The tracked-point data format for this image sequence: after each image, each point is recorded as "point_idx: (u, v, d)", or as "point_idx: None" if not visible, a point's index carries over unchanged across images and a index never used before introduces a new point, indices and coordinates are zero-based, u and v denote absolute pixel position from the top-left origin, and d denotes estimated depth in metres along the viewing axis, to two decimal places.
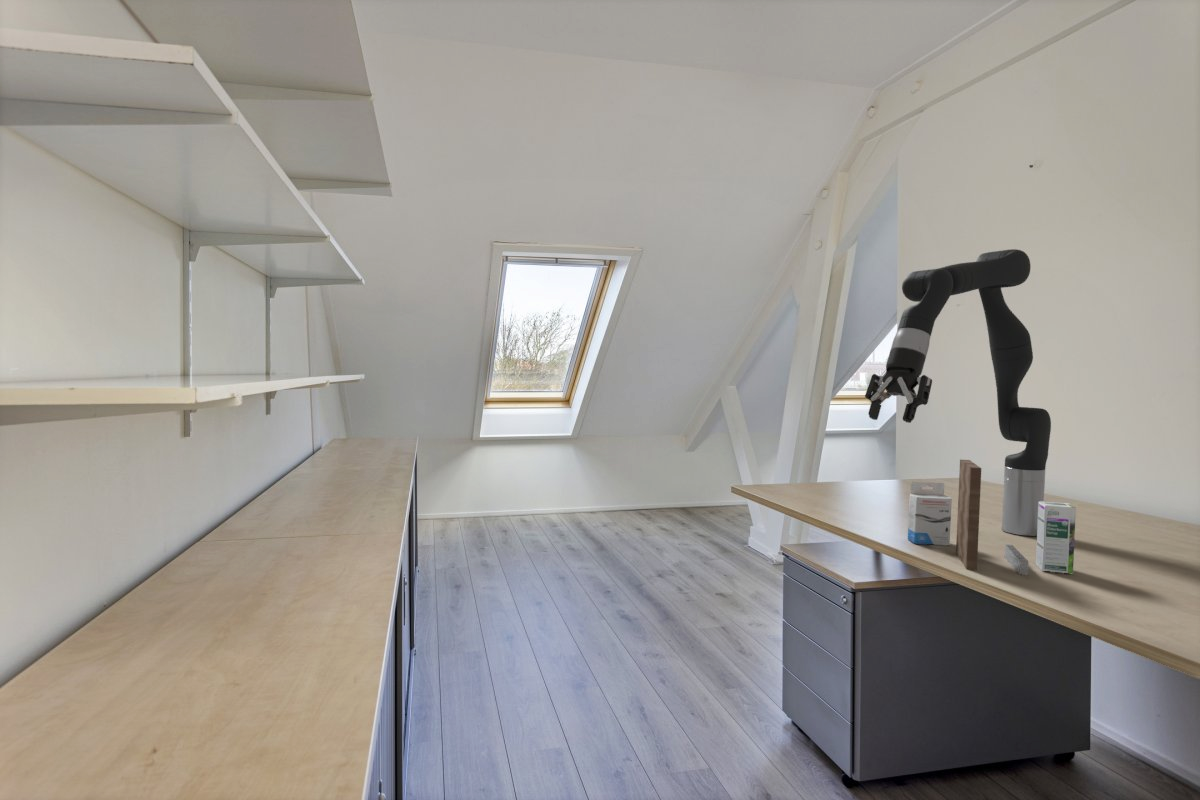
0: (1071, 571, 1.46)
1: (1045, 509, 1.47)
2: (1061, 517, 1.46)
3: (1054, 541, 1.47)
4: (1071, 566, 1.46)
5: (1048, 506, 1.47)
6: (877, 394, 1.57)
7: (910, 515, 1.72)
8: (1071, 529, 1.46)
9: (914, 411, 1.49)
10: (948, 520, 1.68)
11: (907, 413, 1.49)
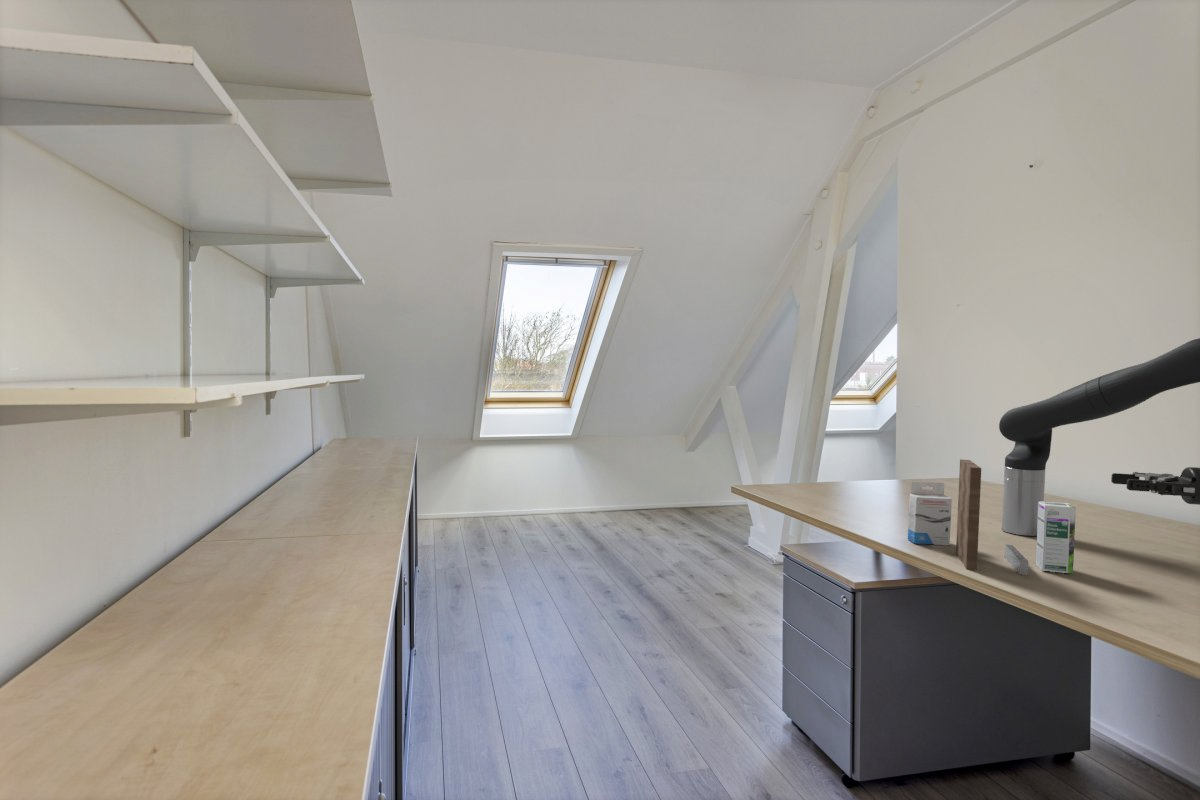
0: (1071, 571, 1.46)
1: (1045, 509, 1.47)
2: (1061, 517, 1.46)
3: (1054, 541, 1.47)
4: (1071, 566, 1.46)
5: (1048, 506, 1.47)
6: None
7: (910, 515, 1.72)
8: (1071, 529, 1.46)
9: None
10: (948, 520, 1.68)
11: None
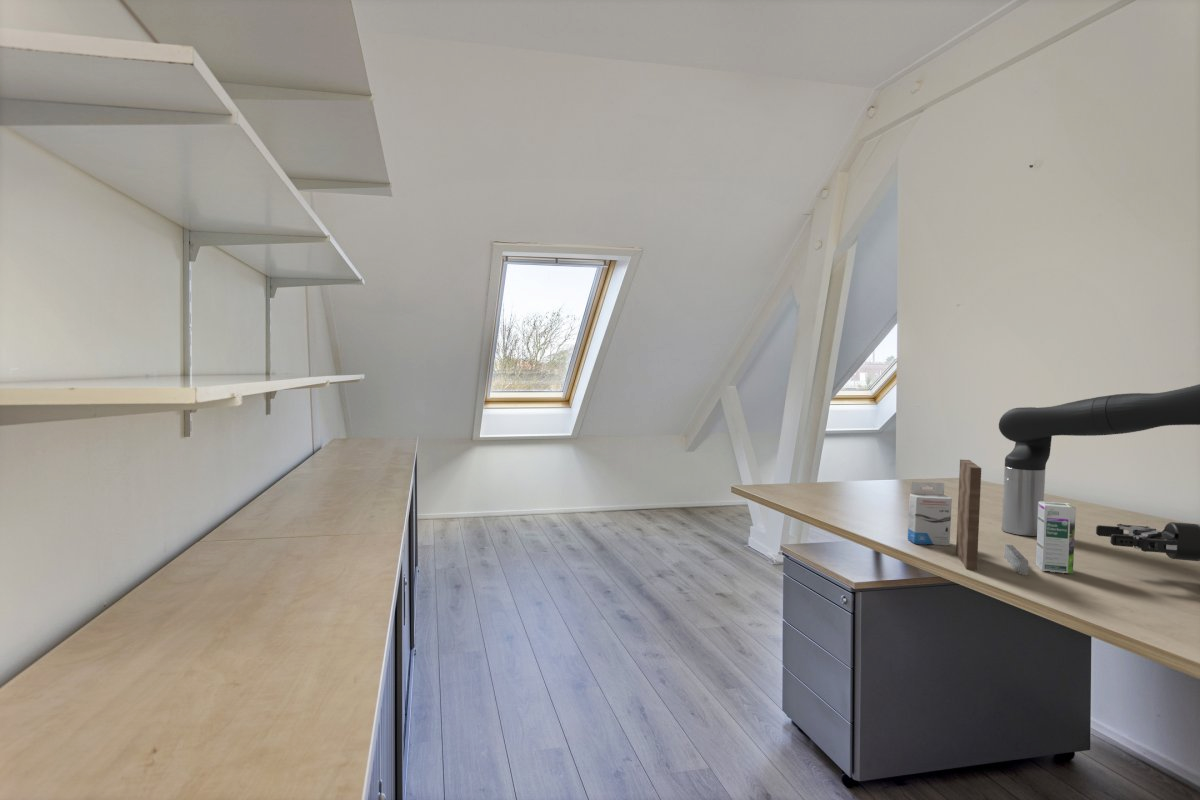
0: (1071, 571, 1.46)
1: (1045, 509, 1.48)
2: (1061, 517, 1.46)
3: (1054, 541, 1.47)
4: (1071, 566, 1.46)
5: (1048, 506, 1.47)
6: None
7: (910, 515, 1.72)
8: (1071, 528, 1.46)
9: None
10: (948, 520, 1.68)
11: None
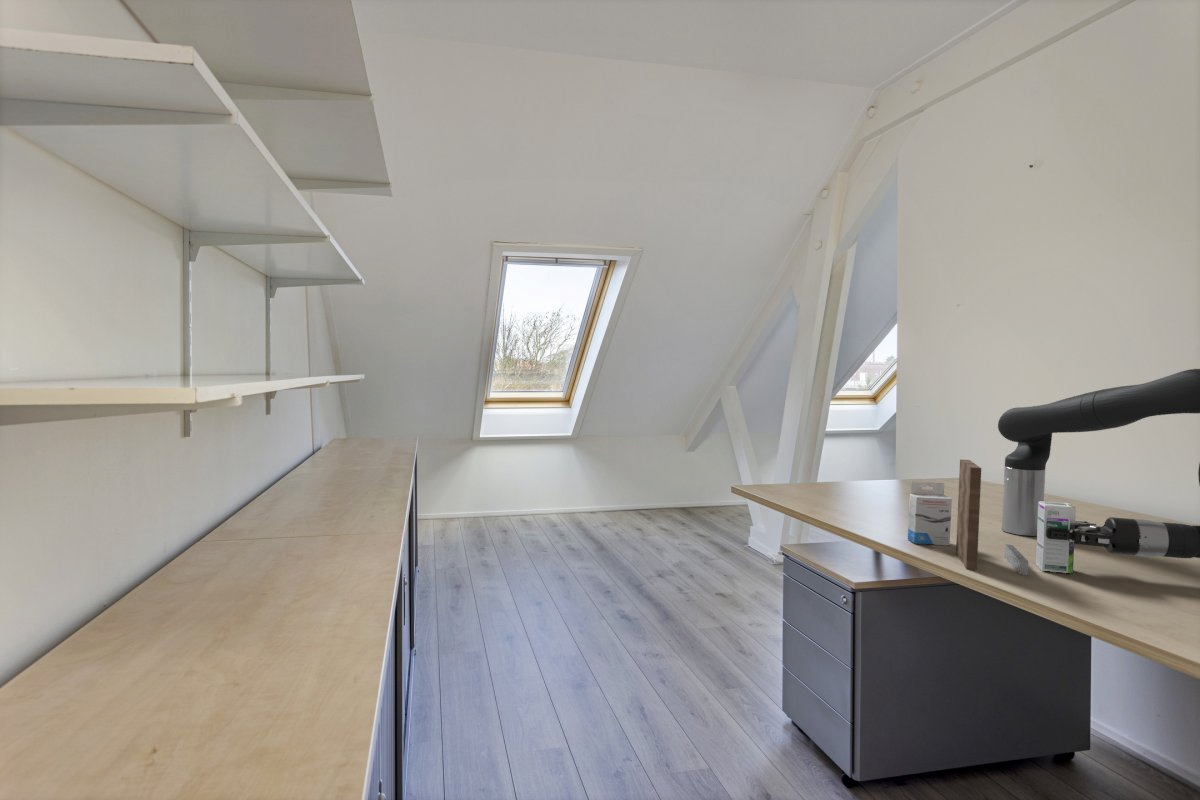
0: (1071, 571, 1.46)
1: (1045, 509, 1.48)
2: (1061, 516, 1.46)
3: (1054, 541, 1.47)
4: (1071, 566, 1.46)
5: (1048, 506, 1.47)
6: None
7: (910, 515, 1.72)
8: (1071, 528, 1.46)
9: None
10: (948, 520, 1.68)
11: None
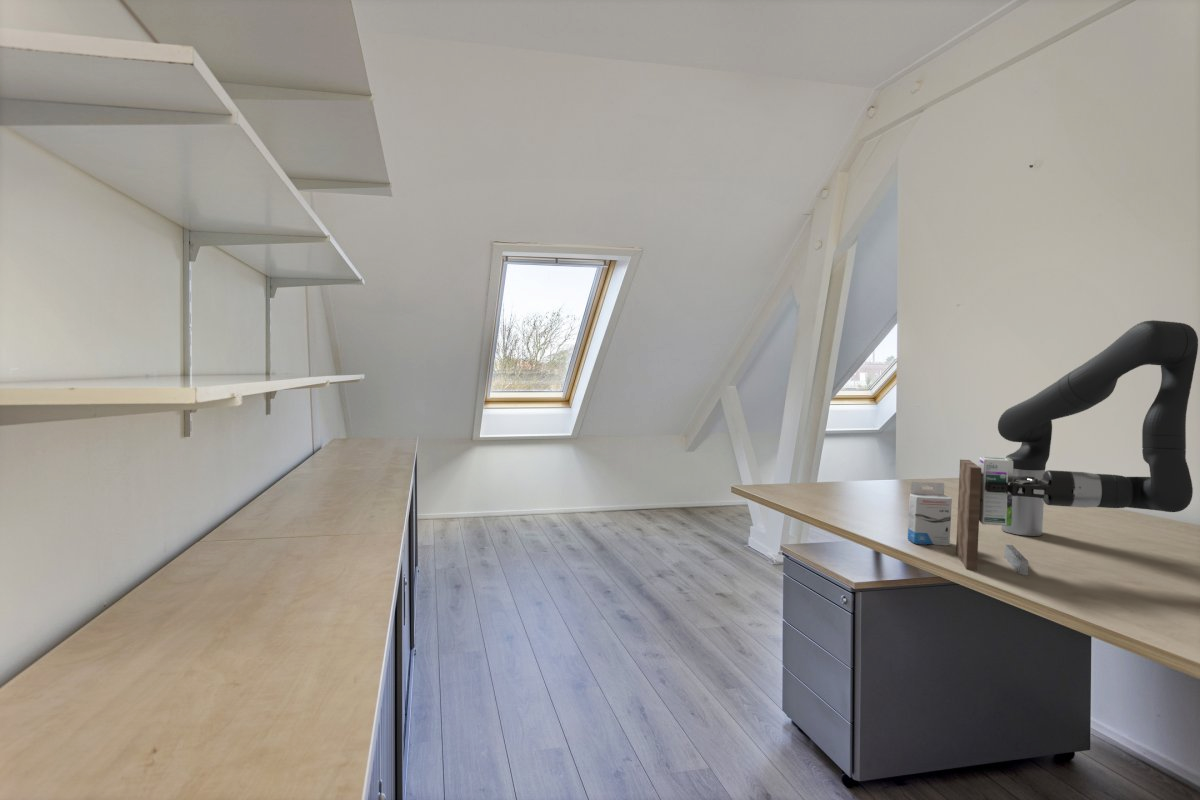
0: (1009, 523, 1.49)
1: (984, 463, 1.51)
2: (999, 470, 1.50)
3: (993, 494, 1.50)
4: (1009, 518, 1.49)
5: (987, 460, 1.51)
6: None
7: (910, 515, 1.72)
8: (1009, 481, 1.49)
9: None
10: (948, 520, 1.68)
11: None
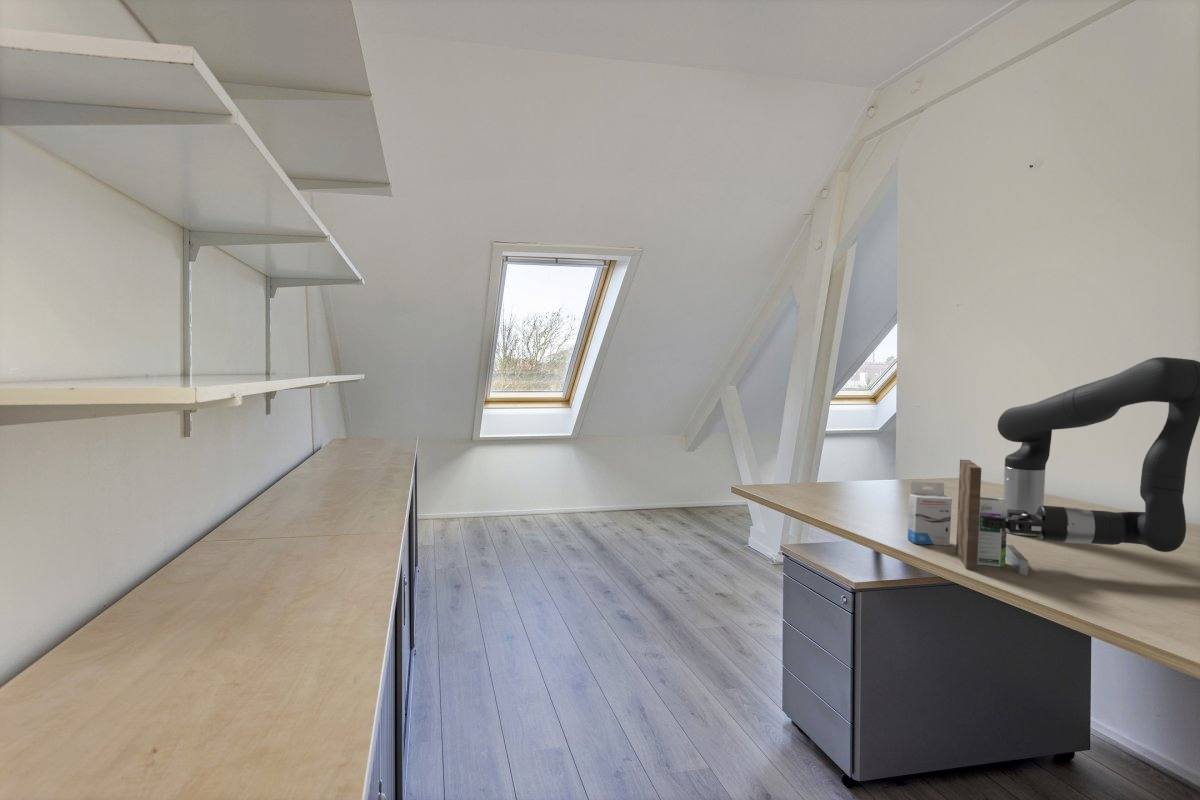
0: (1003, 564, 1.50)
1: None
2: (993, 511, 1.51)
3: (987, 535, 1.51)
4: (1003, 559, 1.50)
5: (981, 501, 1.51)
6: None
7: (910, 515, 1.72)
8: None
9: None
10: (948, 520, 1.68)
11: None
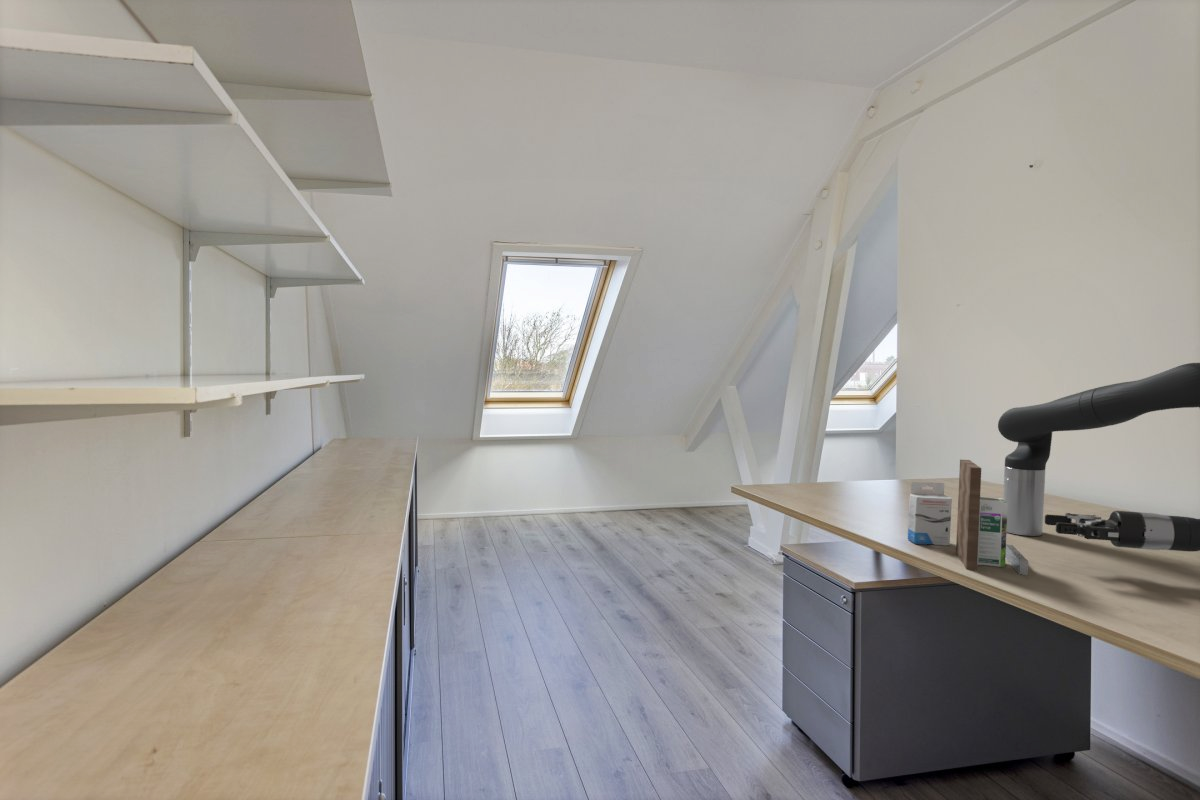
0: (1003, 564, 1.50)
1: None
2: (993, 511, 1.51)
3: (987, 535, 1.51)
4: (1003, 559, 1.50)
5: (981, 501, 1.52)
6: None
7: (910, 515, 1.72)
8: (1003, 523, 1.50)
9: None
10: (948, 520, 1.68)
11: None
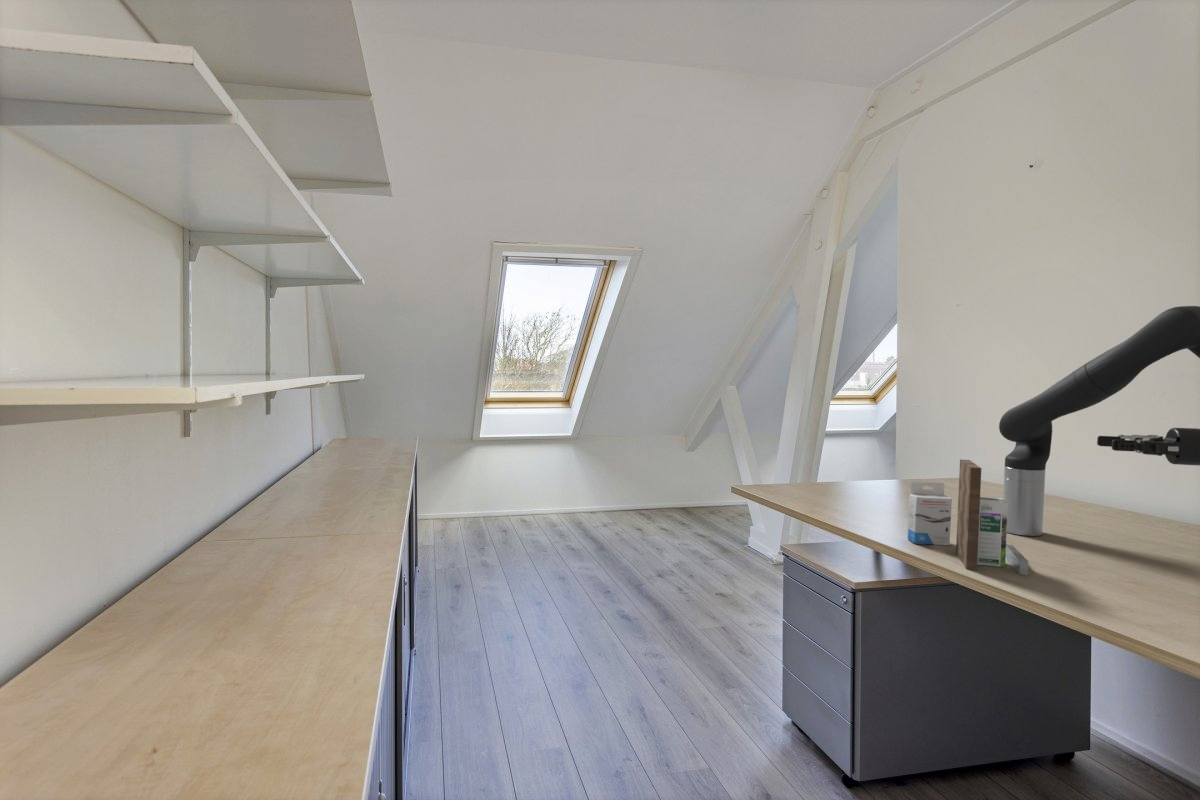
0: (1003, 564, 1.50)
1: None
2: (993, 511, 1.51)
3: (987, 535, 1.51)
4: (1003, 559, 1.50)
5: (981, 501, 1.52)
6: (1143, 452, 1.40)
7: (910, 515, 1.72)
8: (1003, 523, 1.50)
9: None
10: (948, 520, 1.68)
11: None
